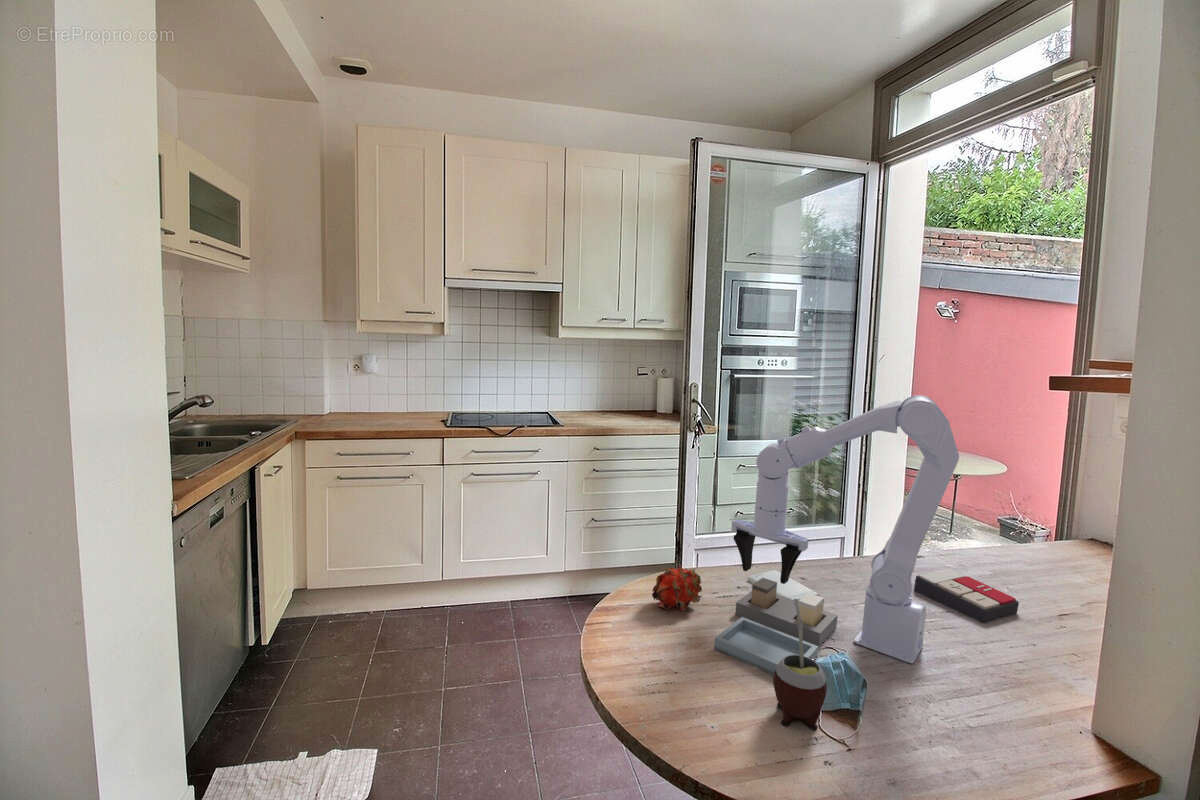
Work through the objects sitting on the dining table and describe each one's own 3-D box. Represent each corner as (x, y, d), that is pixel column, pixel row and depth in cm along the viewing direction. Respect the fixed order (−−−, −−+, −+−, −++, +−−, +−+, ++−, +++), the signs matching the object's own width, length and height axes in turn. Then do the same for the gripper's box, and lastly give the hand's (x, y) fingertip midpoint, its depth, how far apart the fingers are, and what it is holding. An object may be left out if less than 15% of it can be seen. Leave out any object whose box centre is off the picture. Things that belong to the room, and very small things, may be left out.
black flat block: (986, 607, 110) (915, 572, 123) (982, 628, 110) (912, 591, 124) (1020, 598, 114) (948, 565, 128) (1016, 618, 115) (945, 583, 128)
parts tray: (817, 657, 96) (818, 646, 96) (793, 683, 89) (794, 671, 88) (741, 627, 105) (741, 616, 105) (713, 648, 98) (714, 637, 97)
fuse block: (836, 627, 106) (837, 615, 106) (818, 646, 100) (820, 633, 99) (756, 598, 117) (757, 587, 116) (735, 614, 110) (736, 602, 110)
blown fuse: (774, 611, 112) (777, 582, 111) (764, 619, 108) (767, 589, 108) (760, 606, 114) (762, 577, 113) (750, 614, 110) (752, 584, 110)
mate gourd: (803, 742, 76) (813, 636, 74) (755, 709, 82) (763, 610, 81) (835, 721, 81) (845, 620, 79) (787, 691, 87) (795, 597, 85)
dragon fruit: (703, 607, 116) (656, 630, 109) (679, 572, 120) (633, 592, 114) (719, 586, 110) (671, 609, 104) (694, 550, 115) (646, 570, 108)
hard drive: (748, 575, 125) (791, 600, 114) (775, 569, 129) (819, 592, 118) (747, 583, 125) (790, 608, 115) (775, 576, 129) (819, 600, 118)
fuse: (821, 628, 106) (824, 597, 105) (812, 637, 103) (815, 606, 102) (805, 622, 108) (807, 592, 107) (795, 631, 105) (798, 600, 104)
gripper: (816, 511, 107) (810, 581, 108) (745, 494, 116) (740, 558, 118) (802, 520, 101) (795, 593, 103) (728, 501, 111) (723, 568, 112)
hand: (765, 575), depth 110 cm, fingers open, 7 cm apart
